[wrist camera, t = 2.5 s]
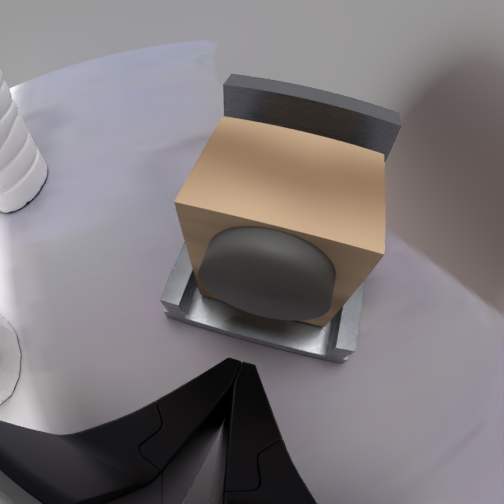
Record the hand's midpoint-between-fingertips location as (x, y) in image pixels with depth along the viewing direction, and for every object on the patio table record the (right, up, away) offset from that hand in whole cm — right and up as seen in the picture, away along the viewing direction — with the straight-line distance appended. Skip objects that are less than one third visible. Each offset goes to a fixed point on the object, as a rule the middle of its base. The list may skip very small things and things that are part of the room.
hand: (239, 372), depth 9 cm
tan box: (+1, +2, +9) cm, 9 cm away
